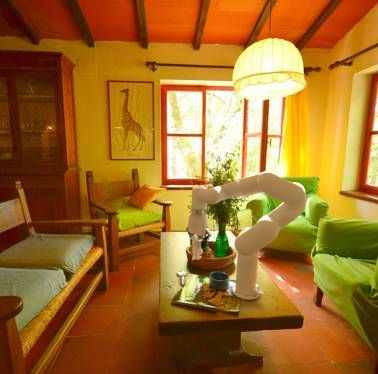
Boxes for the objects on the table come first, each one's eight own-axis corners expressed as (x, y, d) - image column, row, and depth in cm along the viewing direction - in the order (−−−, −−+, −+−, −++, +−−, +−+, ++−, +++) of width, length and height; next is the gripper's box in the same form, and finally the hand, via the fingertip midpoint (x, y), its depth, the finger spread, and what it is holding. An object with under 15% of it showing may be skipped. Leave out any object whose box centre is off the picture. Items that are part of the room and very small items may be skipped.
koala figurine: (191, 261, 124) (191, 237, 123) (186, 257, 130) (186, 234, 129) (207, 259, 127) (207, 235, 127) (201, 255, 133) (201, 233, 133)
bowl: (232, 285, 127) (233, 275, 126) (222, 293, 120) (222, 283, 119) (216, 278, 133) (216, 269, 133) (205, 285, 126) (205, 276, 125)
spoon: (187, 285, 126) (187, 283, 126) (179, 285, 125) (179, 284, 125) (185, 272, 139) (185, 271, 139) (177, 272, 139) (177, 271, 139)
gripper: (180, 209, 128) (180, 244, 130) (209, 216, 117) (207, 253, 119) (190, 207, 133) (189, 240, 136) (217, 213, 123) (216, 248, 125)
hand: (197, 246), depth 128 cm, fingers closed on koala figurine, 6 cm apart
